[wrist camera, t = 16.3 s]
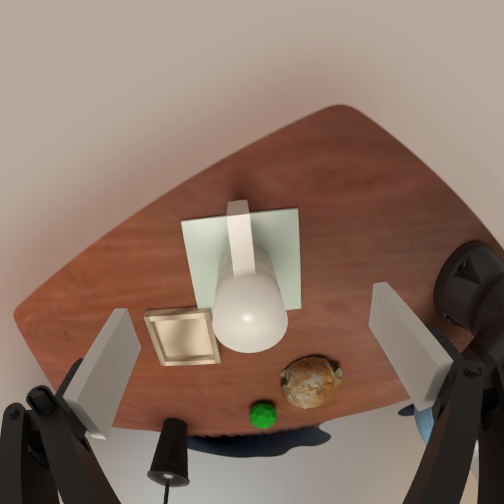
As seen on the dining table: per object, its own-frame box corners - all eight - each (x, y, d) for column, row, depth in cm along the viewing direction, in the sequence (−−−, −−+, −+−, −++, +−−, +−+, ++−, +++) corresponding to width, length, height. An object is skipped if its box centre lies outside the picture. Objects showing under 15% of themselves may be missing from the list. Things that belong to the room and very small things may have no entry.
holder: (210, 305, 39) (209, 312, 38) (221, 355, 43) (220, 363, 41) (146, 310, 39) (143, 317, 37) (163, 358, 43) (161, 365, 41)
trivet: (296, 207, 35) (297, 208, 34) (300, 305, 40) (301, 308, 39) (181, 220, 34) (180, 221, 34) (200, 316, 40) (200, 319, 39)
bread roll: (290, 341, 47) (275, 372, 40) (349, 353, 43) (343, 387, 37) (285, 380, 51) (271, 410, 44) (337, 392, 47) (329, 424, 40)
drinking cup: (150, 416, 49) (133, 500, 30) (182, 411, 48) (172, 502, 30) (169, 435, 52) (158, 513, 33) (200, 431, 51) (195, 514, 33)
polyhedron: (279, 400, 48) (282, 420, 43) (269, 414, 50) (272, 434, 45) (253, 396, 47) (255, 417, 43) (245, 411, 49) (246, 431, 44)
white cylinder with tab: (274, 288, 38) (288, 348, 27) (222, 294, 38) (218, 355, 27) (266, 192, 33) (282, 220, 22) (208, 198, 33) (194, 230, 22)
